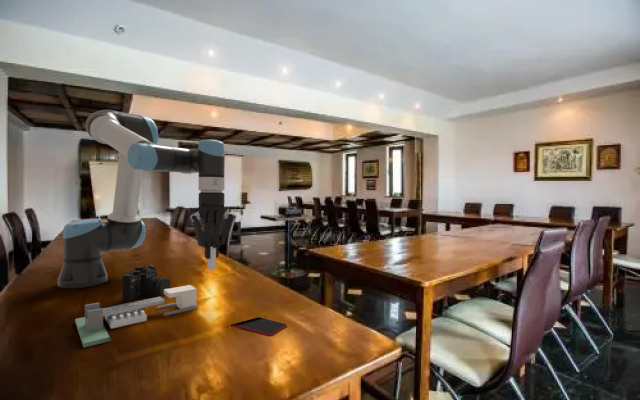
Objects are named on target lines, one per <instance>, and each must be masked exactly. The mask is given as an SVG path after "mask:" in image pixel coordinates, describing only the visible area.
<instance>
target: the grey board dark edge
mask: <svg viewBox="0 0 640 400" xmlns="http://www.w3.org/2000/svg"><path fill="white" fill-rule="evenodd" d="M165 301H166V300H165V298H163V296H159V297H157V296H154V297H151V298H146V299H142V300H137V301H133V302H131V301H130V302H128V303H127V302H126V303H122V304H118V305H112V306H108V307H104V308H103V307H102V308H103V318H104V317H105V316H108V315H113V314H117V313H122V312H126V311H131V310H135V309H140V308H142V309H143V308H148V307H152V306H156V305H157V306H159V305H162V304H165Z"/></svg>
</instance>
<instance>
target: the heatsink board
mask: <svg viewBox="0 0 640 400" xmlns="http://www.w3.org/2000/svg"><path fill="white" fill-rule="evenodd" d="M100 304H101V303H100V302H95V303H89V304H84V317H77V318H75V320H74V323H75V325H76V326H75V327H76V329H77V333H78V335H79V338H80V341H81V345H82V347H83V348H87V347H88V348H89V347H92V346H96V345H100V344H105V343H108V342H112V340H113V339H112V338H111V336H110V334H109V332H108V331H107V329H106V327H105V325H104V317H105V321H106V323H107V324H108V326H109V328H110V329H116V328H120V327H124V326H128V325H133V324H138V323H142V322H143V323H144V322H147V321H148V317H147V316H148V315H147V314H146V313H145V311H144V309H143V308H140V309H135V310H131V311H126V312H122V313H117V314H113V315H108V316H104V317H103V307H101V308H100ZM172 307H177V306H176V302H172V303H167V304H163V305H162V304H161V305H157V306H156V310H162V309H167V308H172ZM196 309H198V305H196V306H192V307H187V308H183V309H180V308H179V309H174V310H169V311H165V312H163V316H164V317H167V316H170V315H174V314H179V313H183V312H188V311H193V310H196Z"/></svg>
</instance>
